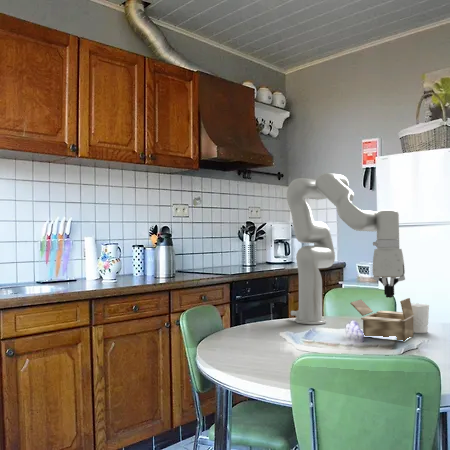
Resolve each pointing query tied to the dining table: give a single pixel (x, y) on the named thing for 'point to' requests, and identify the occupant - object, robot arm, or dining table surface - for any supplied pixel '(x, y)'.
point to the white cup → (420, 317)
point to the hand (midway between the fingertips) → (389, 297)
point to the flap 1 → (361, 307)
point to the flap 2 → (406, 308)
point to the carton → (388, 325)
